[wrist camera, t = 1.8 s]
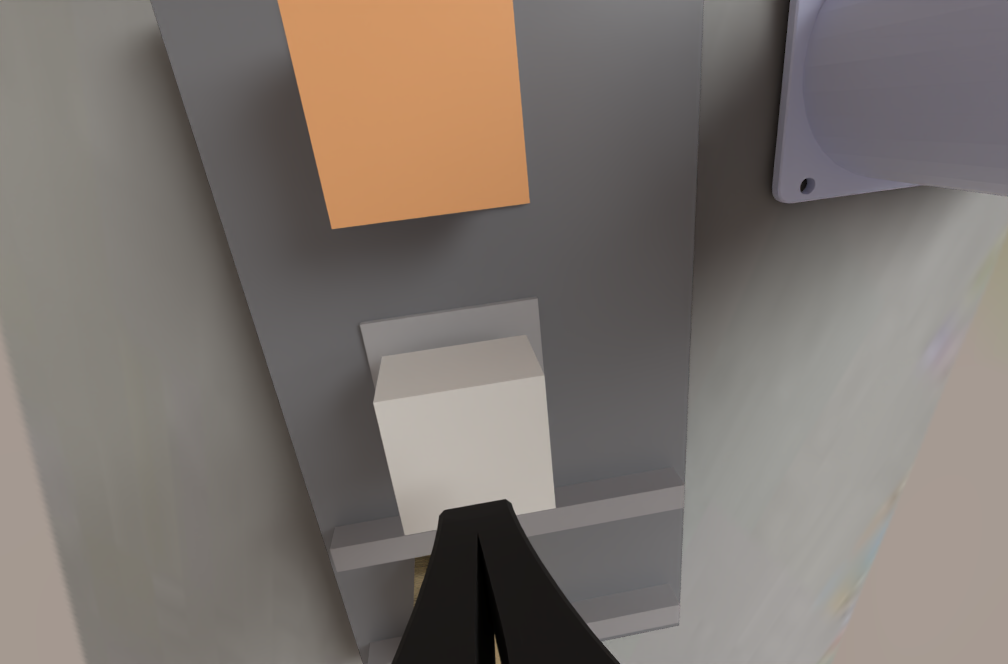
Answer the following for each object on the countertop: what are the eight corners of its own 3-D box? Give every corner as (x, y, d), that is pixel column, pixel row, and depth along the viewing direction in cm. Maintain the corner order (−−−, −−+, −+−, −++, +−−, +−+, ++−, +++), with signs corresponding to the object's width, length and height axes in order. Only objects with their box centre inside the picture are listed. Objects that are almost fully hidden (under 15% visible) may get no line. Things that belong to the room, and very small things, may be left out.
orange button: (493, 0, 11) (510, -29, 9) (511, 188, 13) (529, 203, 11) (307, 18, 11) (275, -8, 9) (349, 209, 13) (332, 229, 10)
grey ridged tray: (670, -36, 14) (728, -72, 12) (659, 586, 24) (690, 647, 21) (186, 10, 13) (123, -18, 11) (375, 642, 23) (368, 714, 20)
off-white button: (525, 334, 14) (544, 375, 12) (537, 452, 16) (555, 507, 14) (381, 356, 14) (373, 402, 12) (407, 474, 16) (404, 535, 13)
